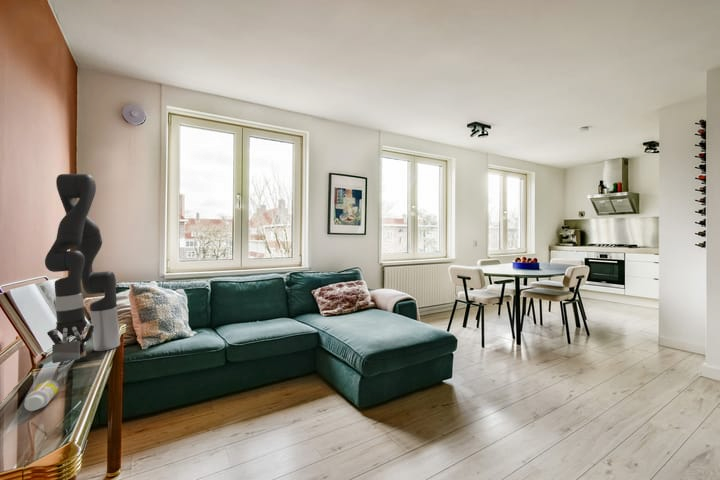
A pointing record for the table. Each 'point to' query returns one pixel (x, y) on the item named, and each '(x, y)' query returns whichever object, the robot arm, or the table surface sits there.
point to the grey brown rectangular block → (66, 352)
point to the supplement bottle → (41, 395)
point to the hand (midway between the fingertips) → (74, 354)
